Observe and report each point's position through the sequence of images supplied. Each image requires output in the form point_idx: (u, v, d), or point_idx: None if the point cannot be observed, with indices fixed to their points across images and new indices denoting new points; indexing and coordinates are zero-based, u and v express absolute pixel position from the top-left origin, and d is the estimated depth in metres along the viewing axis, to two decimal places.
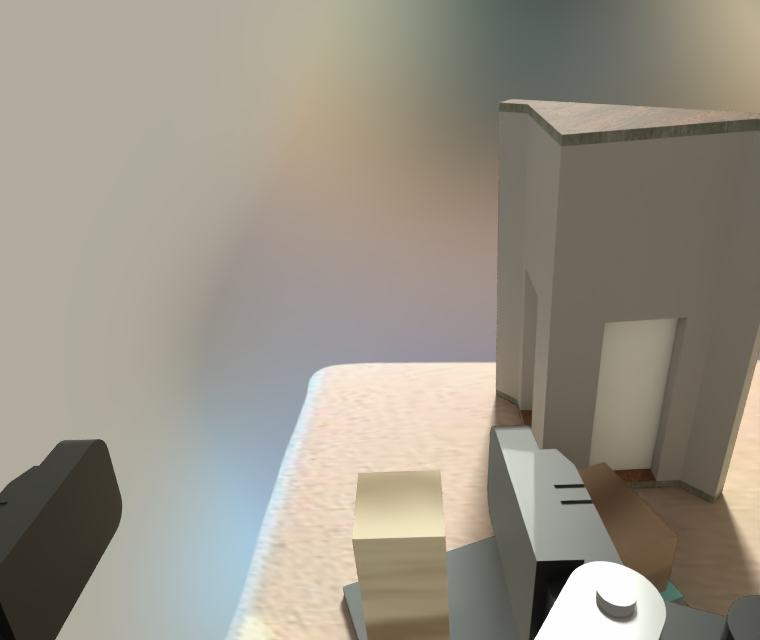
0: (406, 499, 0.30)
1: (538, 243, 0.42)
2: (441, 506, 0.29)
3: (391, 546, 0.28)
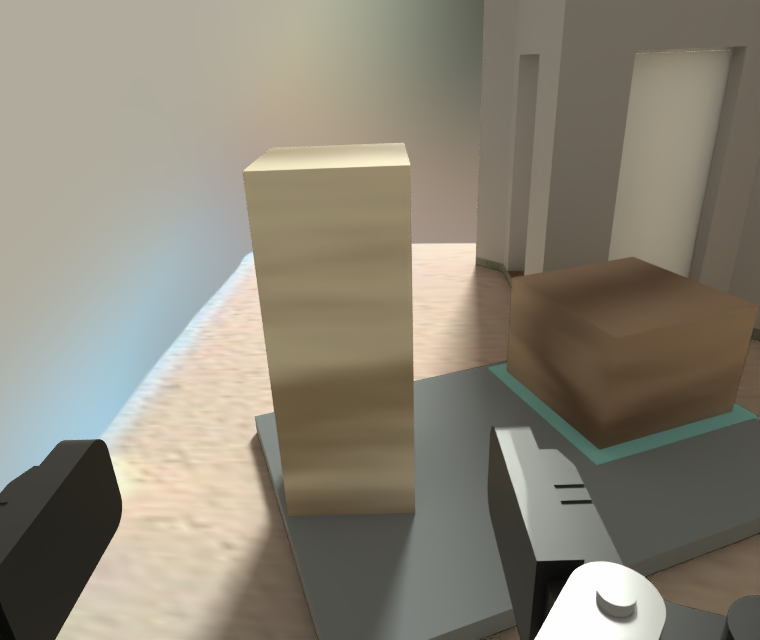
0: (345, 153, 0.18)
1: None
2: (404, 154, 0.17)
3: (313, 190, 0.16)
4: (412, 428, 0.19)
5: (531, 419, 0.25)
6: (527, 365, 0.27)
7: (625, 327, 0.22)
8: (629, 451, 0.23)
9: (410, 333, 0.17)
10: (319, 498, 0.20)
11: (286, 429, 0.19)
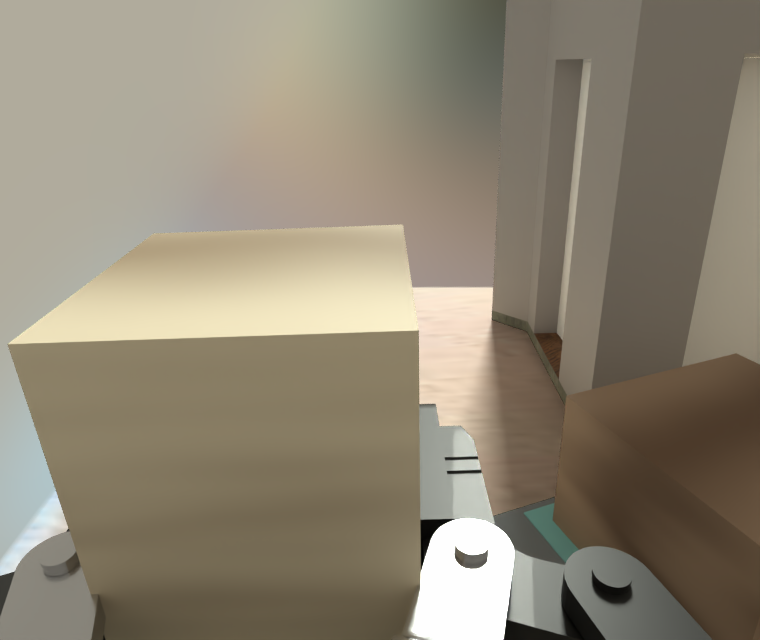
0: (281, 264, 0.09)
1: None
2: (404, 273, 0.08)
3: (185, 384, 0.07)
4: None
5: None
6: (589, 528, 0.18)
7: None
8: None
9: None
10: None
11: None
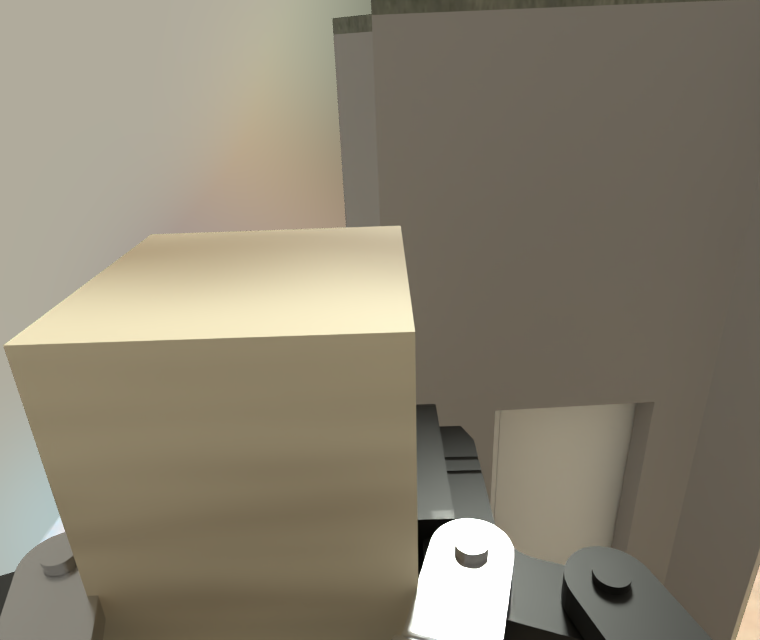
0: (278, 265, 0.09)
1: None
2: (401, 274, 0.08)
3: (181, 386, 0.07)
4: None
5: None
6: None
7: None
8: None
9: None
10: None
11: None
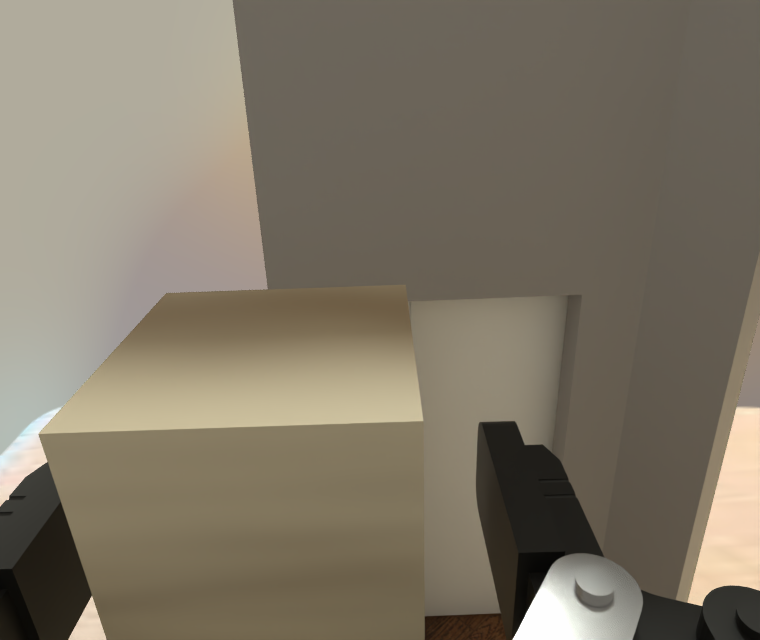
0: (291, 335, 0.09)
1: None
2: (408, 347, 0.08)
3: (205, 468, 0.07)
4: None
5: None
6: None
7: None
8: None
9: None
10: None
11: None
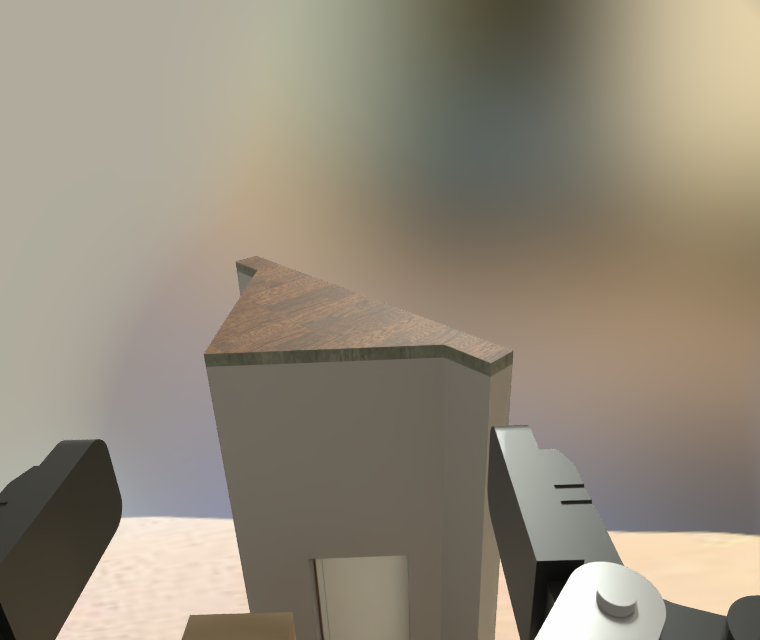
0: None
1: None
2: None
3: None
4: None
5: None
6: None
7: None
8: None
9: None
10: None
11: None
